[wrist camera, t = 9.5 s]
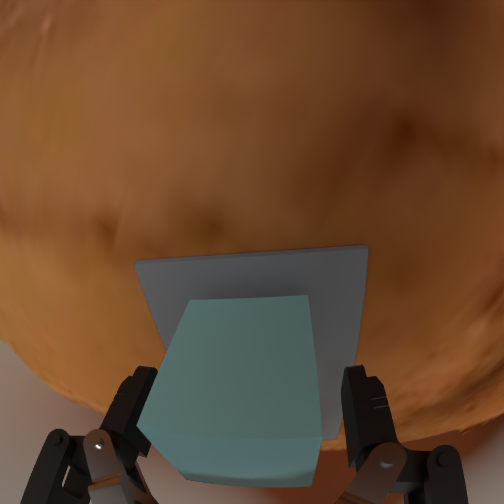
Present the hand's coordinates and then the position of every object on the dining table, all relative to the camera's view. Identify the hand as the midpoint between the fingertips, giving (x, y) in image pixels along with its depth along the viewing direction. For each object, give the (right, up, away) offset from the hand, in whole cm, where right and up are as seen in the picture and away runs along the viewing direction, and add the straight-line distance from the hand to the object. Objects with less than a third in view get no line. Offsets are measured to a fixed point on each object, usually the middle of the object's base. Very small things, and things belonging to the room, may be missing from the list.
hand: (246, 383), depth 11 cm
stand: (+1, -3, +6) cm, 6 cm away
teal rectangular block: (0, +1, +2) cm, 3 cm away
